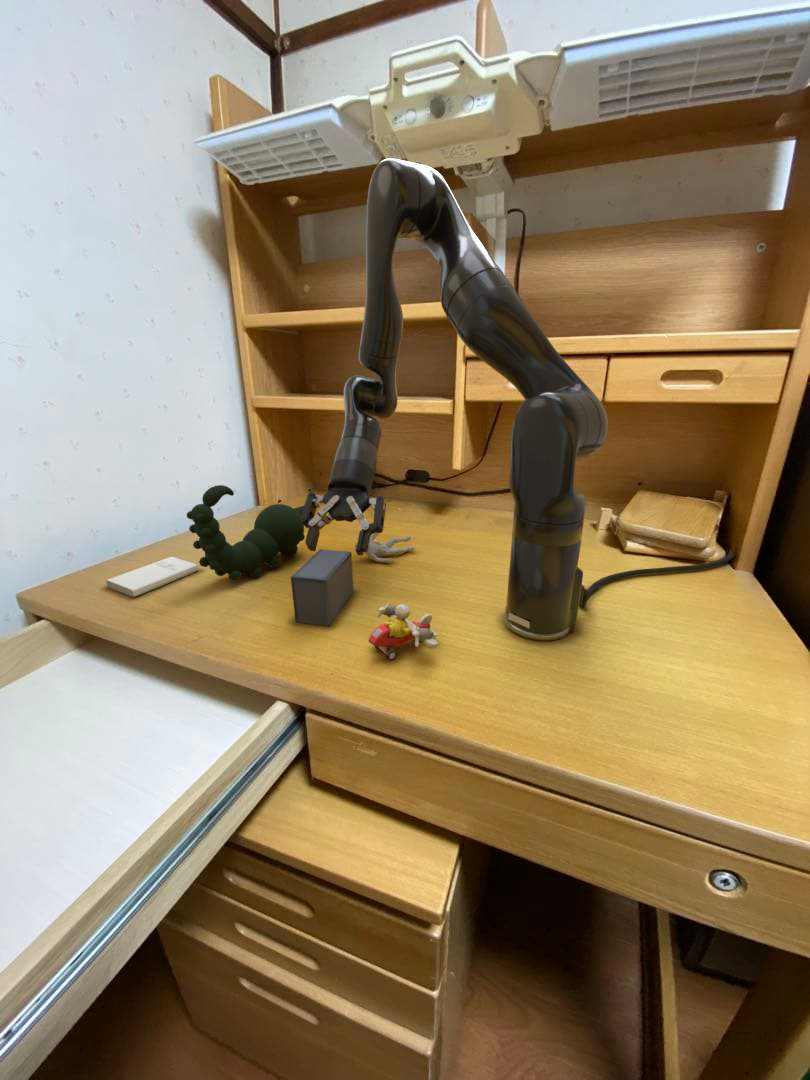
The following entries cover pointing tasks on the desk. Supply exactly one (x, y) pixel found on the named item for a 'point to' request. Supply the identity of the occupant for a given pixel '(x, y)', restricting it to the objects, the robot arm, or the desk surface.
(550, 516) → the robot arm
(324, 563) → the dark grey rectangular box
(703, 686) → the desk surface
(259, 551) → the toy figurine
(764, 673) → the desk surface
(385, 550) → the soldier figure
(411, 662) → the desk surface
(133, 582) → the hard drive
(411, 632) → the toy airplane
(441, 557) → the desk surface
